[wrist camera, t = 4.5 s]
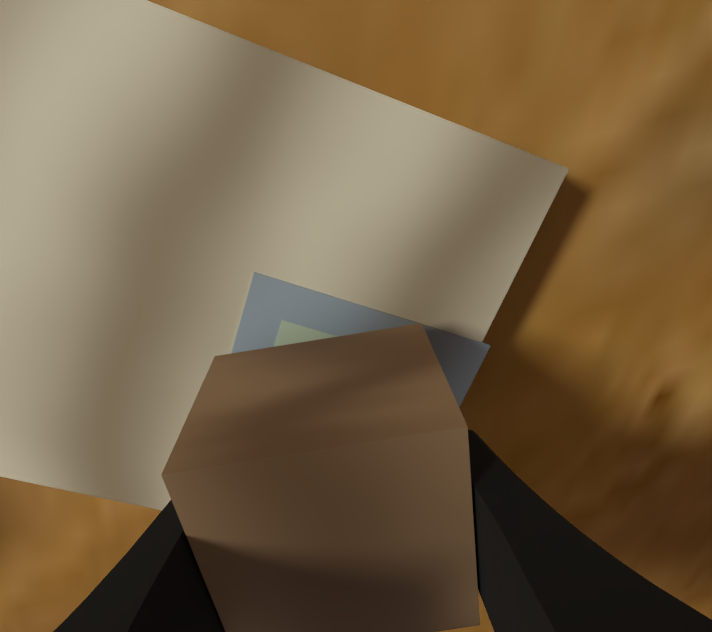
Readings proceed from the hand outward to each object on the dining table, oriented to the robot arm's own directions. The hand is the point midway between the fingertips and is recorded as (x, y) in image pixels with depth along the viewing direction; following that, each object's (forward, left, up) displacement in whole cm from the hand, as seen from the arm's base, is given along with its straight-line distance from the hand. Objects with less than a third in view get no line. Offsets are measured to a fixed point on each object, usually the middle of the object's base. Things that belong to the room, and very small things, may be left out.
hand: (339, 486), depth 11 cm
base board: (+5, -2, -4) cm, 7 cm away
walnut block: (0, 0, -2) cm, 2 cm away
